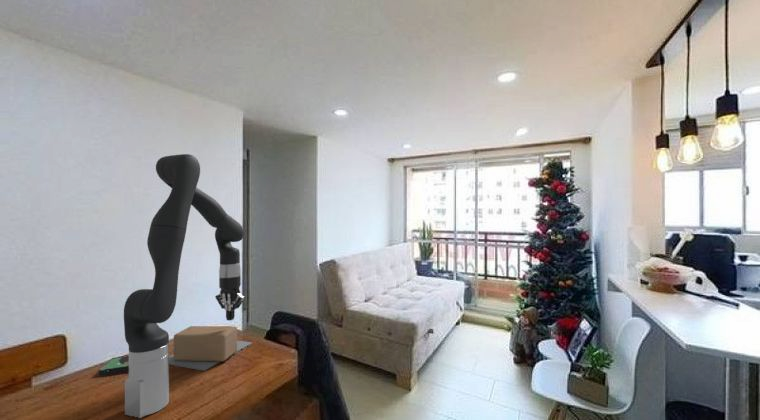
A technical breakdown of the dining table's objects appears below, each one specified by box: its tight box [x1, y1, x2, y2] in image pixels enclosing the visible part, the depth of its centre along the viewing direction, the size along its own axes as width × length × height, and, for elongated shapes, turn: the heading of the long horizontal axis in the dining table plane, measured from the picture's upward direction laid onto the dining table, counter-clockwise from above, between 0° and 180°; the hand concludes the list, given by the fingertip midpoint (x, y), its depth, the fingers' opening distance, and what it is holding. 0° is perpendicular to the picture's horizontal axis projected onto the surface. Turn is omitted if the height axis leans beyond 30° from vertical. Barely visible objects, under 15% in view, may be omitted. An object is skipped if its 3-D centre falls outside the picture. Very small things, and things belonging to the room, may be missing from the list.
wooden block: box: [173, 325, 238, 362], centre depth 120 cm, size 10×10×20 cm
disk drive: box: [97, 355, 129, 377], centre depth 114 cm, size 10×3×15 cm
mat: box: [169, 340, 253, 372], centre depth 125 cm, size 24×22×1 cm
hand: (230, 319), depth 121 cm, fingers closed
